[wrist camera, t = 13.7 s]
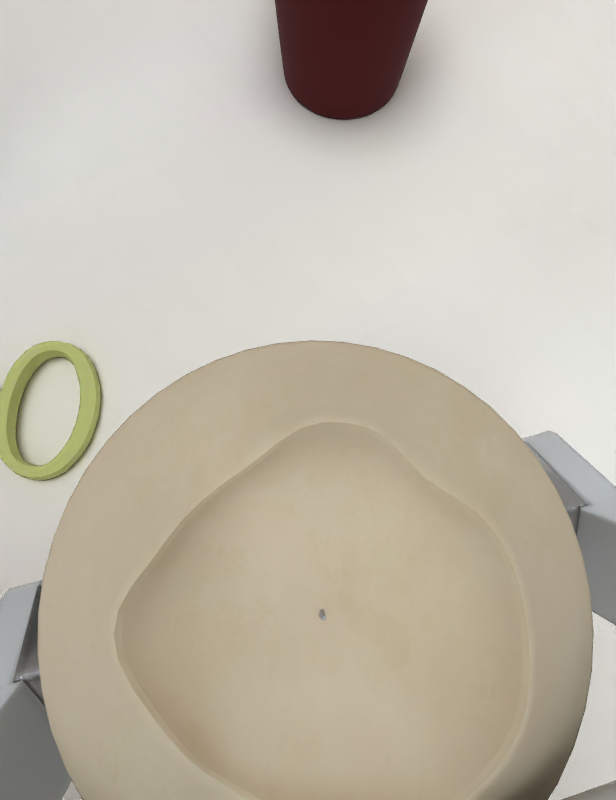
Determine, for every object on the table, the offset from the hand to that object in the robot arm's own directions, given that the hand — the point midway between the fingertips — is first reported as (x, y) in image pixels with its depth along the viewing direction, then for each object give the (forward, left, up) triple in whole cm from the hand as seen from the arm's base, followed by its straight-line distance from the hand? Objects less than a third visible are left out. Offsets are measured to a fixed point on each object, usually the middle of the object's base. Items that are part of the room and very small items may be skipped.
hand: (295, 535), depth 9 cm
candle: (0, -1, -6) cm, 6 cm away
